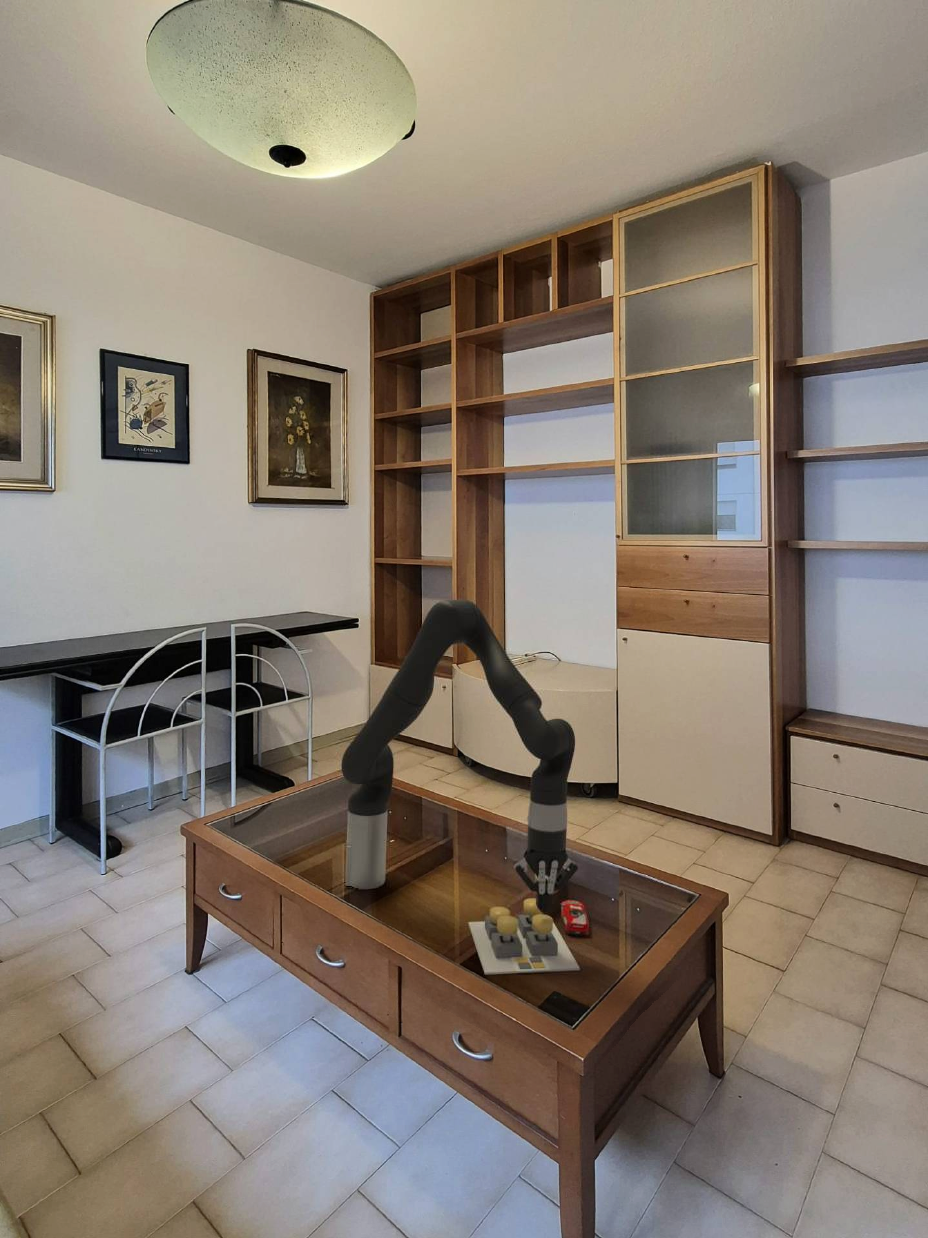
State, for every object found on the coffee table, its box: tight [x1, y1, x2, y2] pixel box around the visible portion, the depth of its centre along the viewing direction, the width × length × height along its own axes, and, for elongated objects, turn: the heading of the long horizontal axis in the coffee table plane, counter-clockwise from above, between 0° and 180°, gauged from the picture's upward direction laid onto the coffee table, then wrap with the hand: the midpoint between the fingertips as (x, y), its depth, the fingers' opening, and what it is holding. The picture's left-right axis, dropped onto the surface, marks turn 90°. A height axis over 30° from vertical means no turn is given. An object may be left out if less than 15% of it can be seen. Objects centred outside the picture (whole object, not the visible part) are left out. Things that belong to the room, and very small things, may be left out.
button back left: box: [489, 906, 511, 925], centre depth 144 cm, size 4×4×4 cm
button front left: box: [497, 915, 518, 943], centre depth 137 cm, size 4×4×4 cm
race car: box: [560, 899, 590, 937], centre depth 150 cm, size 13×5×4 cm, turn 176°
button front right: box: [532, 913, 554, 941], centre depth 138 cm, size 4×4×4 cm
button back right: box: [523, 897, 544, 924], centre depth 145 cm, size 4×4×4 cm
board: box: [467, 914, 581, 975], centre depth 140 cm, size 18×19×3 cm
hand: (543, 910), depth 137 cm, fingers closed
